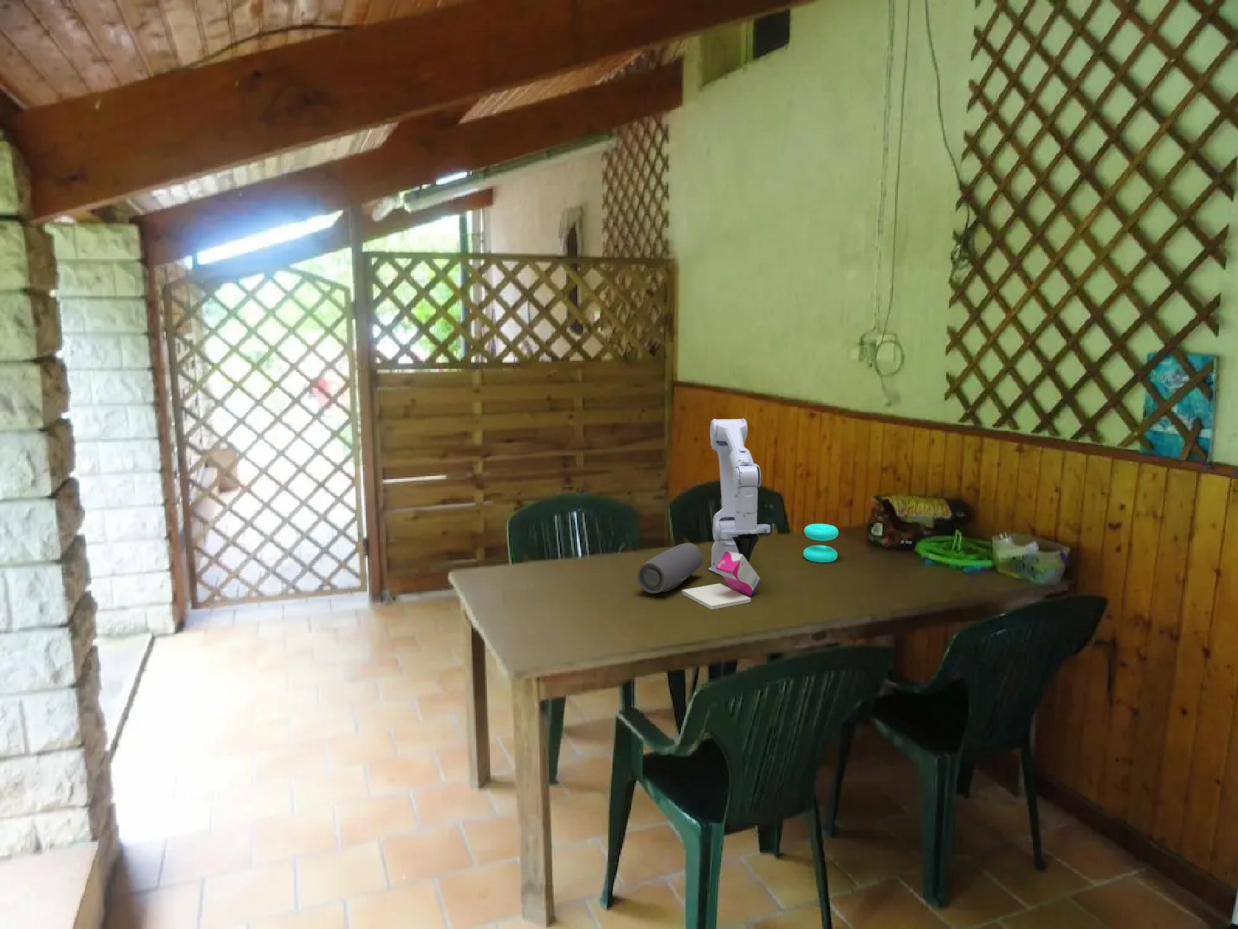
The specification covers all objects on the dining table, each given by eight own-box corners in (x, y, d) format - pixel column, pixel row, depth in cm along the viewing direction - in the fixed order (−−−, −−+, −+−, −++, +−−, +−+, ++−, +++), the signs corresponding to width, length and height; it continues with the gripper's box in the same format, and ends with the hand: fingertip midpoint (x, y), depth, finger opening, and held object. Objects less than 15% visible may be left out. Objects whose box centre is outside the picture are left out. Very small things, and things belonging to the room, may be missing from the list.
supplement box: (743, 574, 220) (725, 549, 214) (761, 579, 216) (743, 554, 210) (733, 592, 218) (714, 567, 212) (750, 597, 214) (732, 572, 207)
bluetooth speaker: (674, 572, 236) (674, 538, 234) (704, 577, 231) (704, 543, 229) (635, 595, 216) (635, 558, 215) (666, 601, 212) (666, 563, 210)
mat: (681, 593, 217) (681, 590, 217) (719, 586, 223) (719, 583, 222) (711, 609, 205) (711, 606, 205) (750, 602, 210) (750, 598, 210)
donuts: (845, 528, 244) (818, 532, 240) (844, 561, 246) (817, 565, 242) (824, 521, 253) (797, 524, 249) (822, 552, 255) (796, 556, 251)
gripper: (731, 517, 207) (730, 569, 210) (777, 511, 214) (776, 561, 216) (716, 512, 213) (715, 562, 216) (761, 506, 220) (760, 555, 222)
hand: (744, 561), depth 216 cm, fingers closed
